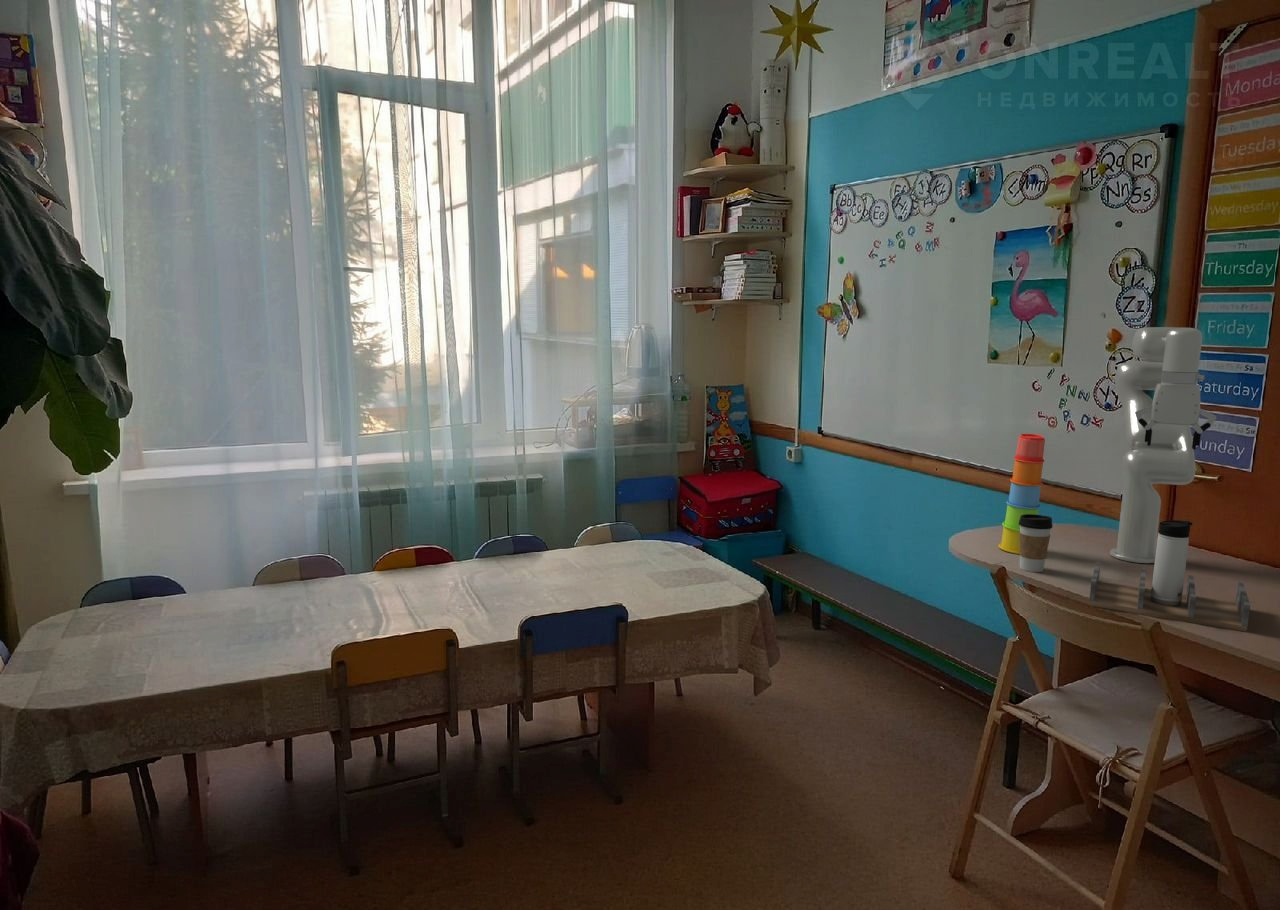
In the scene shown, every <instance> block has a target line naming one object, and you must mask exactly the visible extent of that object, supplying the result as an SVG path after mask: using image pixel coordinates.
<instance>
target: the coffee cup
mask: <svg viewBox="0 0 1280 910" xmlns="http://www.w3.org/2000/svg"><path fill="white" fill-rule="evenodd" d="M1019 525H1020V531H1019V548H1020V554H1019V569H1021V570H1022V571H1024V572H1025V571H1026V572H1030V573H1031V572H1032V573H1042V572H1043V571H1044V570H1045V569H1044V568H1045V563H1046V559H1047V553H1048V549H1049V543H1050V538H1051V529H1052V528H1053V518H1052V516H1049V515H1048V516H1047V515H1042V514H1038V515H1034V514H1024V515H1021V517H1020V520H1019Z"/></svg>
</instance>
